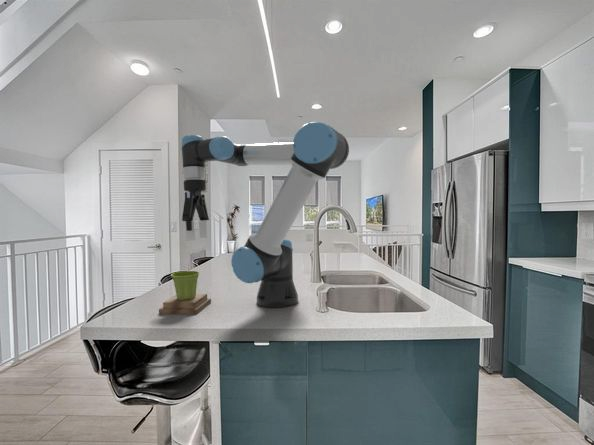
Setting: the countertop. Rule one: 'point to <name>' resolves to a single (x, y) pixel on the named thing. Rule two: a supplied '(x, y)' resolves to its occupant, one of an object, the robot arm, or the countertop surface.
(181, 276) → the plant pot
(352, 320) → the countertop surface
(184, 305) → the walnut stand
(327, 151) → the robot arm
